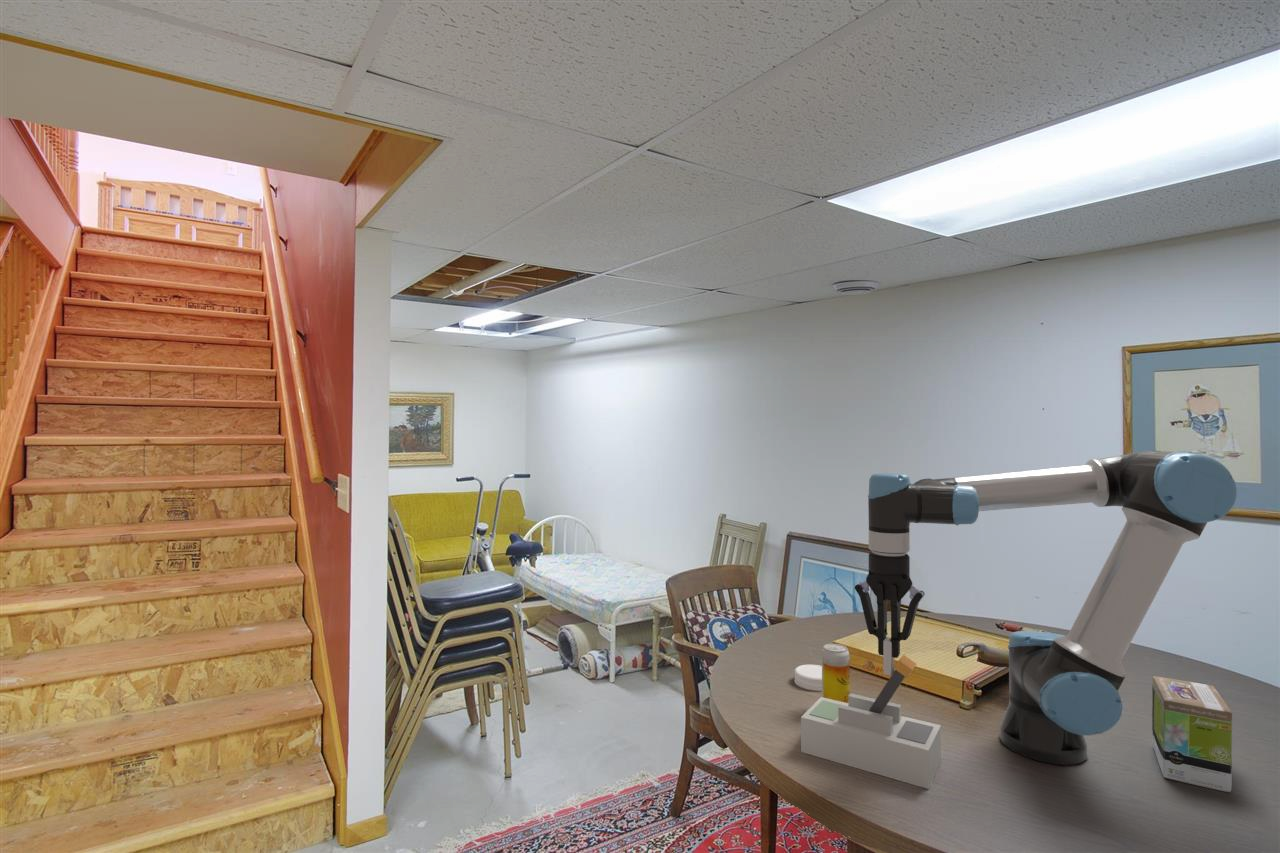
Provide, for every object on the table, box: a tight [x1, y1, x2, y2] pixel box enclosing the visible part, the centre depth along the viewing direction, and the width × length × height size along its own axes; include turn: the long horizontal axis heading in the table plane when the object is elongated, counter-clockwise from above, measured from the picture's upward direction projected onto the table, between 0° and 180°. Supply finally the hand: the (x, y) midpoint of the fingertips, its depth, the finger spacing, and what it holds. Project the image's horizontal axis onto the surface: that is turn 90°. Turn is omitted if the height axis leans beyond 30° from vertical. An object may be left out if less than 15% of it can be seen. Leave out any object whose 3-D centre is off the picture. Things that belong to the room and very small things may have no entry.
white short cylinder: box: [794, 664, 822, 692], centre depth 165 cm, size 10×10×4 cm
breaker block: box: [800, 693, 942, 790], centre depth 128 cm, size 24×12×10 cm, turn 55°
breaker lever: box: [869, 654, 917, 714], centre depth 126 cm, size 3×4×14 cm
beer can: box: [821, 643, 851, 703], centre depth 148 cm, size 6×6×15 cm
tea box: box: [1151, 675, 1233, 793], centre depth 124 cm, size 15×10×15 cm
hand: (889, 672), depth 126 cm, fingers closed
